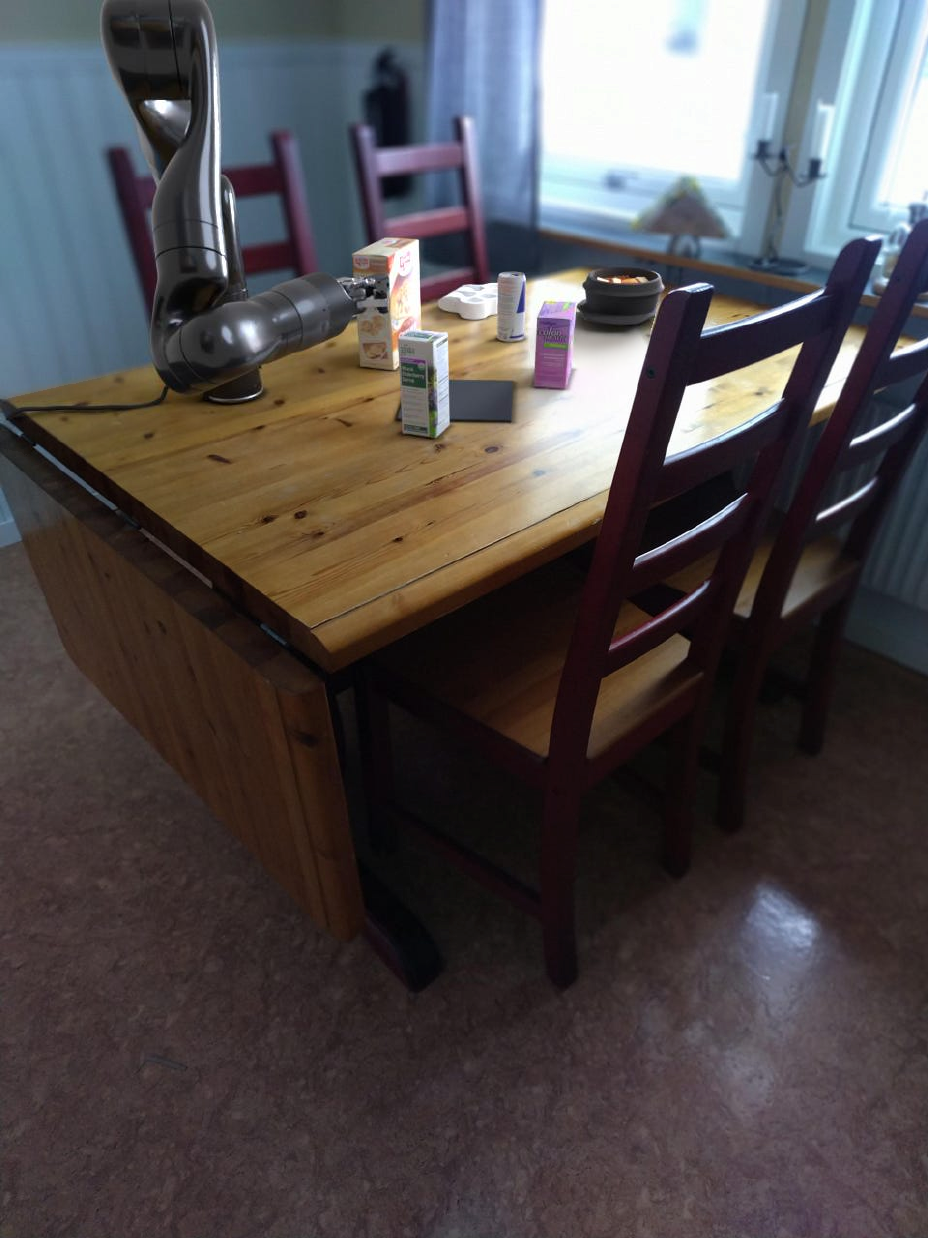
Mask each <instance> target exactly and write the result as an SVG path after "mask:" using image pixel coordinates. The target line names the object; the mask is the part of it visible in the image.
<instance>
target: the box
mask: <svg viewBox="0 0 928 1238" xmlns="http://www.w3.org/2000/svg"><path fill="white" fill-rule="evenodd" d="M577 305H578V303H577V302H574V301H563V300H562V301H561V300H544V301H543V303H542V305H541V308H540V310H539V313H538V315H537V317H536V332H535V349H534V371H533V372H534V373H533V387H535V388H545V389H558V390H559V389H561V390H566V388H567V386H568V383H569V382H568V381H569V378H570V375H571V373H572V369H573V357H574V356H573V353H574V339H575V327H576V316H577Z"/></svg>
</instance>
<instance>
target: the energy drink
mask: <svg viewBox="0 0 928 1238" xmlns="http://www.w3.org/2000/svg"><path fill="white" fill-rule="evenodd" d="M497 277H498V278H497V283H498V294H497V314H496V337H497V339H498V340H499V341H501V342H505V343H516V342H521V341H522V340H523V339H524V338H525V318H526V317H525V316H526V315H525V314H526V280H527V278H526V276H525V273H524V272H518V271H504V272H500V273H499V274H498V276H497Z"/></svg>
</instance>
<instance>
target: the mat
mask: <svg viewBox="0 0 928 1238" xmlns="http://www.w3.org/2000/svg"><path fill="white" fill-rule="evenodd" d="M513 398H514V380H507V379H505V380H502V379H501V380H497V379H496V380H494V379H493V380H491V379H449V422H462V423H463V422H465V423H466V422H469V423H470V422H472V423H475V422H476V423H480V422H481V423H512V419H513ZM396 421H398V422H399V421H400V422H402V404H401V406H400V408H399V412H398V414H397V418H396Z"/></svg>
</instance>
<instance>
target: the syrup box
mask: <svg viewBox="0 0 928 1238" xmlns="http://www.w3.org/2000/svg"><path fill="white" fill-rule="evenodd" d="M398 352H399V366H398V368H399V381H400V382H399V383H400V398H401V400H400V401H401V405H402V421H401V426H402V427H401V429H402V434H403V435H414V436H419V437H426V438H431V439H436V438H438V437H439V436H440V435H441V434H442V433H443V432H444V431H445V430H447V428H448V427H449V426H450V421H449V380H450V379H449V373H450V372H449V333H448V331H447V332H446V331H445V332H444V331H443V332H441V331H431V330H422V329H421V330H416V329H413V330H410V331H408V332H406V333H405V334H403V335H402V336H401V337H400V338H399V339H398Z"/></svg>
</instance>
